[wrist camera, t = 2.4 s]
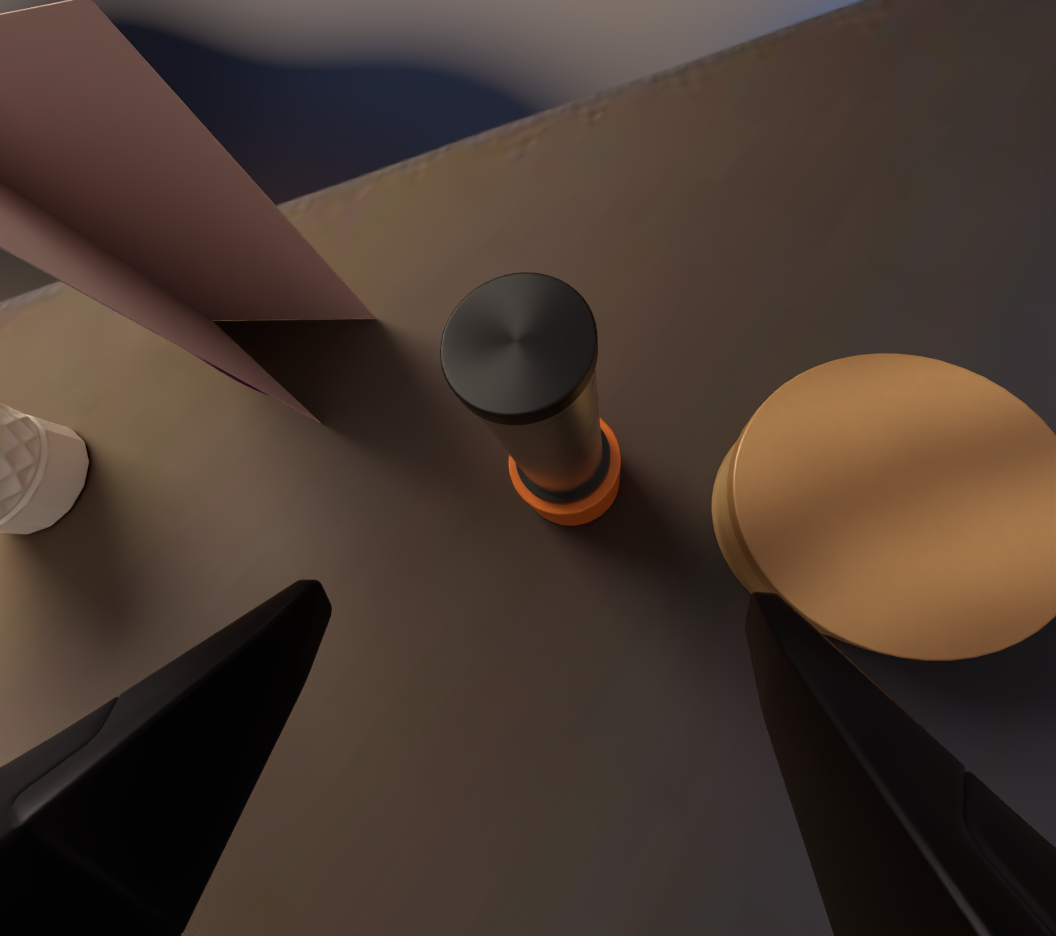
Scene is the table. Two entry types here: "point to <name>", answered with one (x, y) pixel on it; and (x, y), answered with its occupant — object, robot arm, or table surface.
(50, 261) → the greeting card
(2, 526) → the white cup
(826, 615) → the birch box
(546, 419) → the torch
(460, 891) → the table surface
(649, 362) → the table surface
